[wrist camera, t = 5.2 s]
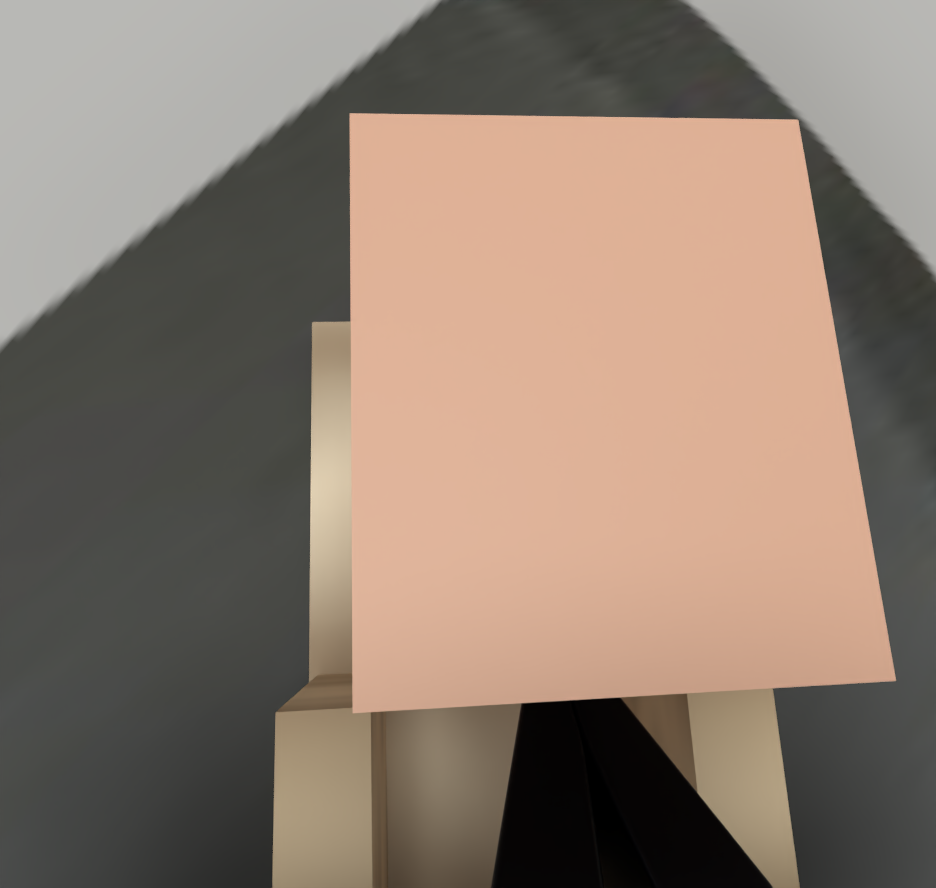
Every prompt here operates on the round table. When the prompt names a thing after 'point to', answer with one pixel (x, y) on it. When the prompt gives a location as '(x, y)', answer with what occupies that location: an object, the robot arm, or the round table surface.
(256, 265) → the round table surface
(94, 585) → the round table surface
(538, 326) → the block
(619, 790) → the robot arm
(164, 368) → the round table surface
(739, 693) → the chute
